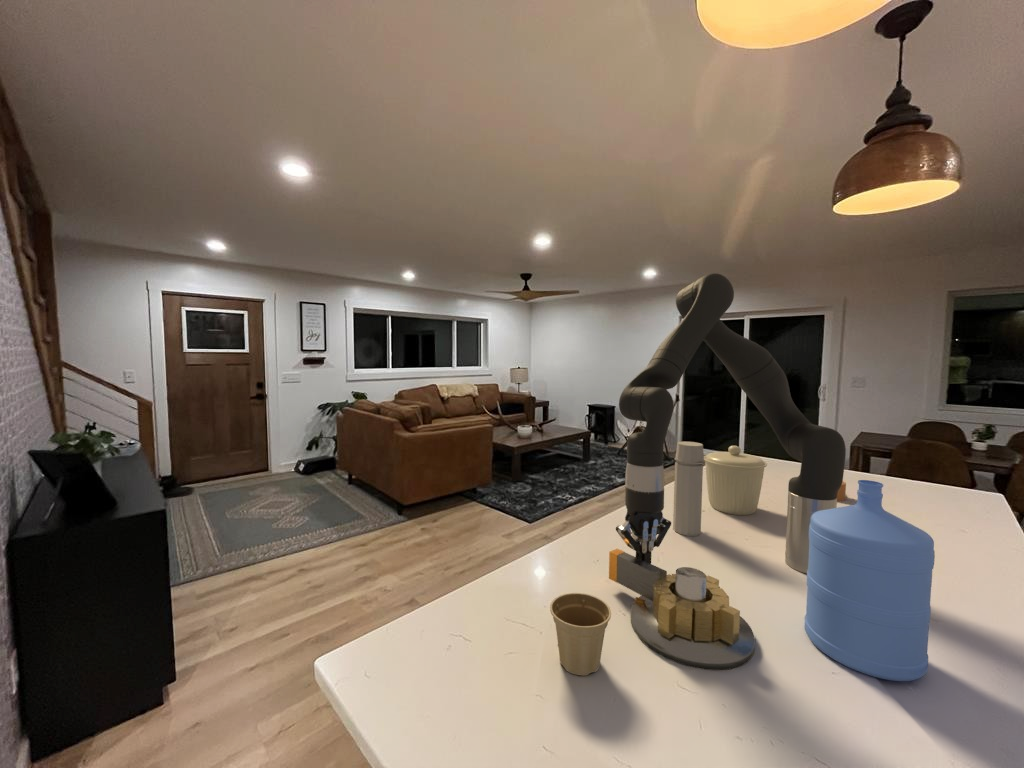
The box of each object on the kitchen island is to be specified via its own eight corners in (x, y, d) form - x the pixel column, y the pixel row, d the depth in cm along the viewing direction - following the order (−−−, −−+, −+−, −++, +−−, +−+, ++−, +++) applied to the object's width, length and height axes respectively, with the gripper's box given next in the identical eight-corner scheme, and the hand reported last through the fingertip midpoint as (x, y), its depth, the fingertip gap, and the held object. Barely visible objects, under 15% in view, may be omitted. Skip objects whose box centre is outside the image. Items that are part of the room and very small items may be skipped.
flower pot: (544, 643, 71) (545, 593, 70) (599, 640, 71) (600, 591, 71) (555, 686, 61) (556, 628, 61) (618, 682, 62) (619, 625, 62)
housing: (731, 603, 83) (733, 553, 82) (775, 678, 63) (778, 613, 63) (626, 592, 86) (627, 545, 86) (637, 660, 67) (638, 598, 66)
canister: (765, 508, 138) (768, 444, 137) (764, 525, 123) (767, 454, 122) (705, 498, 148) (707, 438, 147) (697, 513, 133) (699, 447, 132)
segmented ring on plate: (614, 573, 90) (614, 546, 90) (743, 611, 77) (745, 579, 77) (584, 609, 77) (585, 577, 77) (734, 662, 64) (736, 623, 63)
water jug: (893, 698, 60) (904, 503, 58) (783, 632, 74) (790, 475, 73) (948, 667, 66) (960, 490, 64) (837, 612, 80) (845, 467, 79)
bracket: (847, 506, 142) (848, 485, 141) (817, 502, 146) (818, 482, 145) (836, 492, 158) (837, 473, 157) (809, 488, 161) (810, 470, 161)
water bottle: (694, 540, 112) (697, 447, 111) (666, 531, 118) (669, 443, 117) (709, 531, 118) (712, 443, 117) (682, 523, 124) (685, 439, 123)
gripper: (630, 494, 79) (629, 584, 80) (683, 485, 85) (681, 569, 86) (606, 484, 86) (605, 566, 87) (656, 476, 92) (655, 554, 93)
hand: (643, 567), depth 86 cm, fingers closed
